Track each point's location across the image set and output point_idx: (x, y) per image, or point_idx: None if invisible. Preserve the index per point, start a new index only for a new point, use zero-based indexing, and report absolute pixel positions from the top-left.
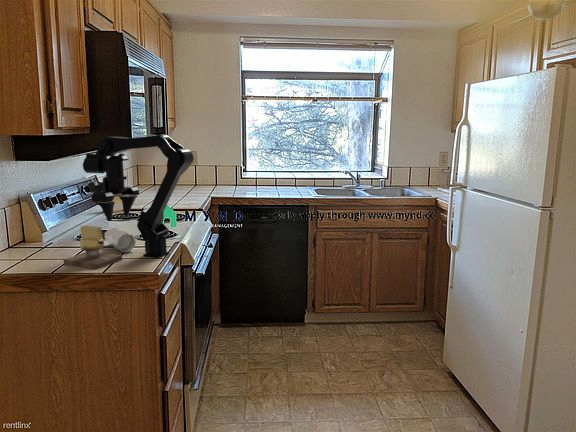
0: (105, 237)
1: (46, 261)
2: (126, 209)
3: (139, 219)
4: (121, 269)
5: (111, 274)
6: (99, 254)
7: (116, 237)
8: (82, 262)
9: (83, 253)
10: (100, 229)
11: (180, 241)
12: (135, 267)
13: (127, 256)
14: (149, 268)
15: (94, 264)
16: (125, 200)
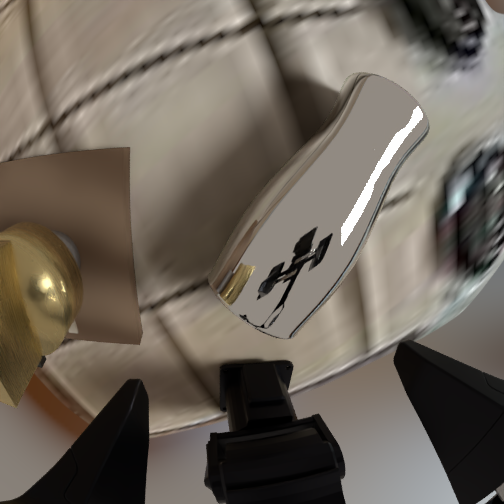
0: (347, 83)
1: (11, 69)
2: (430, 400)
3: (230, 502)
4: (77, 381)
5: (40, 378)
6: None
7: (237, 272)
8: None
9: (78, 158)
10: (14, 397)
11: (423, 335)
12: None
13: (191, 320)
14: None
15: None
16: (492, 450)
